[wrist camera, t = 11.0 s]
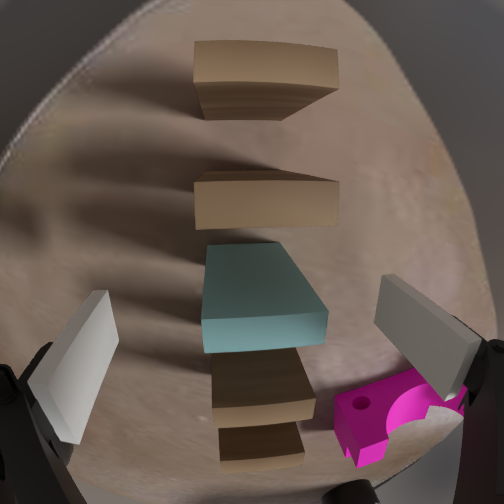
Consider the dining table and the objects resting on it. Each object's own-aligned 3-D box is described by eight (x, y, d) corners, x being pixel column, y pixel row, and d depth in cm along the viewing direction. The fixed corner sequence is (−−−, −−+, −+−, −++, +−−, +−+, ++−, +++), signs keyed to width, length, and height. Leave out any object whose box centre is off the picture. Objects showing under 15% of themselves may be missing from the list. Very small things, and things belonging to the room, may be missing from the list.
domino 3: (207, 244, 21) (200, 319, 11) (279, 242, 21) (328, 311, 12) (208, 267, 21) (204, 353, 12) (279, 264, 22) (324, 343, 12)
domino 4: (277, 323, 23) (312, 418, 14) (213, 327, 23) (214, 428, 13) (278, 305, 23) (316, 398, 13) (211, 309, 22) (212, 408, 13)
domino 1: (281, 120, 19) (339, 88, 9) (205, 120, 18) (193, 82, 9) (281, 98, 18) (336, 49, 9) (205, 97, 18) (194, 41, 8)
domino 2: (281, 193, 20) (337, 225, 11) (206, 195, 20) (195, 229, 10) (281, 170, 20) (339, 181, 10) (205, 171, 19) (193, 182, 10)
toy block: (333, 428, 29) (354, 478, 22) (334, 394, 27) (360, 449, 20) (440, 386, 29) (470, 423, 22) (450, 349, 28) (487, 386, 20)
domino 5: (275, 372, 25) (302, 464, 15) (217, 376, 24) (222, 473, 15) (276, 358, 24) (305, 452, 15) (216, 361, 24) (220, 461, 14)
